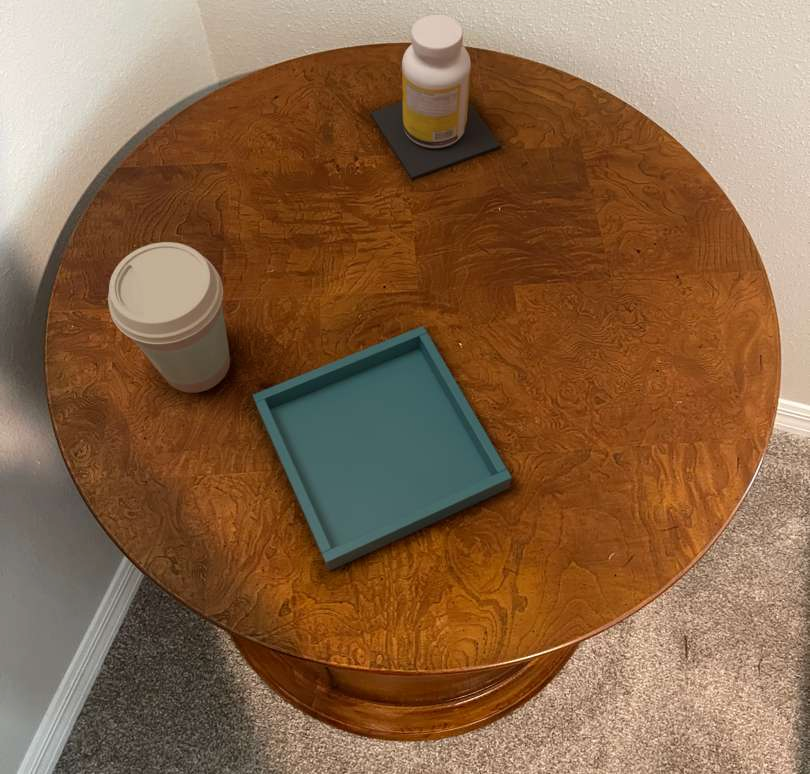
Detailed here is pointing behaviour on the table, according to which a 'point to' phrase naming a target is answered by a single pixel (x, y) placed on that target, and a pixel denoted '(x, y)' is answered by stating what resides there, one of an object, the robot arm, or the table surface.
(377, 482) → the tray
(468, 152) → the mat
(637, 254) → the table surface
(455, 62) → the pill bottle
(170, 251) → the coffee cup
